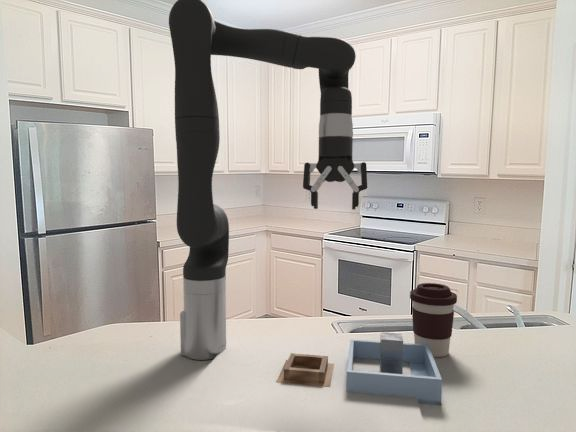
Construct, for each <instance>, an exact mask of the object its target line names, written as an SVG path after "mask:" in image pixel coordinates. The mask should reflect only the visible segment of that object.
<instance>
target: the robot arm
mask: <svg viewBox="0 0 576 432" xmlns="http://www.w3.org/2000/svg"><path fill="white" fill-rule="evenodd" d="M168 27H169V33H170V38H171V39H170V40H171V45H172V52H173V59H174V60H173V61H174V128H175V130H174V131H175V142H176V143H175V144H176V145H175V146H176V162H177V164H176V165H177V179H178V181H177V182H178V184H177V186H178V189H177V205H176V206H177V207H176V231H177V234H178V236H179V239H180V240H181V241H182V243H184V245H186V246H187V247H189V252H188V255H187V258H186V261H185V262H184V264H183V266H182V267H183V268H182V278H183V279H182V280H183V282H182V284H183V310H182V311H181V312H180V314H179V323H180V325H179V327H180V329H179V331H180V333H179V334H180V356H185V357H186V358H188V359H192V360H197V361H198V360H199V361H200V360H201V361H204V360H205V361H207V360H213V359H216V357H217V356H218V355H219V354H221V353H222V352H224V351H225V350H226V349H227V293H226V292H227V288H226V287H227V285H226V284H227V282H226V274H227V272H226V271H227V265H228V261H229V251H230V249H229V246H230V245H229V242H230V225H229V224H230V223H229V219H228V215H227V214H226V212H225V211H224V209H223V208H222V207H221V206H219V205H217V204H215V203H214V197H213V177H214V176H213V175H214V170H215V167H216V163H217V159H218V154H219V149H220V142H221V141H220V140H221V139H220V136H221V135H220V134H221V133H220V117H219V116H220V115H219V106H218V105H219V104H218V99H217V94H216V89H215V83H214V78H213V73H212V61H211V60H212V56H224V57H233V58H242V59H248V60H253V61H258V62H264V63H269V64H272V65H277V66H280V67H285V68H290V69H291V68H292V69H295V70H305V69H306V68H312V69H318V81H319V82H318V83H319V90H320V99H319V101H320V103H319V122H318V161H317V162H316V163H311V162H304V165H303V180H302V181H303V182H302V188H303V189H304V190H307V191H308V192H310V205H311V207H313V209H314V210H318V208H319V192H318V190H319V189H320V188H321V186H322V185H323V184H324V183H325V182H328V183H333V182H337V183H342V182H345V181H346V183H347V184H348V185H349V187H351V190H352V191H353V192H352V195H351V197H352V198H351V199H352V201H351V202H352V203H351V204H352V205H351V209H352V210H356V209H357V208H359V205H360V201H359V199H360V192H361V191H364V190H367V189H368V171H367V168H368V167H367V163H366V162H365V161H364V162H363V161H362V162H360V163H359V162H357V163H354V162H353V147H354V146H353V140H354V138H353V137H354V136H353V135H354V129H353V127H354V123H353V116H352V115H353V114H352V113H353V112H352V111H353V97H352V96H353V95H352V91H350V89H349V73H350V70H351V69H352V68H353V66H354V64H355V61H356V57H357V55H356V51H355V49H354V47H353V46H352V45H351V44H350V43H349V42H348V41H346V40H345V39H342V38H337V37H330V36H307V35H302V34H299V33H294V32H290V31H285V30H281V29H274V28H239V27H233V26H229V25H226V24H223V23H221V22H218V21H216V20H215V19H214V15H213V13H212V12H211V10H210V8H209V7H208V5H207V4H206V3H205V2H204V1H202V0H176V1H175V3H174V4H173V5H172V6H171V8H170V11H169V15H168ZM315 169H316V170H317V171H318V173H319V174H320V175H319V176H318V178H317V179H316V181H315V182H314V184H313V185H311V174H312V173H314V171H315ZM354 169H356V170H357V173H360V174H361V175H360V177H361V179H360V180H361V184H360V185H357V183H356V182H355V181H354V180H353V178H352V177H351V176H350V175H351V174H352V172H353V171H354Z"/></svg>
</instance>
